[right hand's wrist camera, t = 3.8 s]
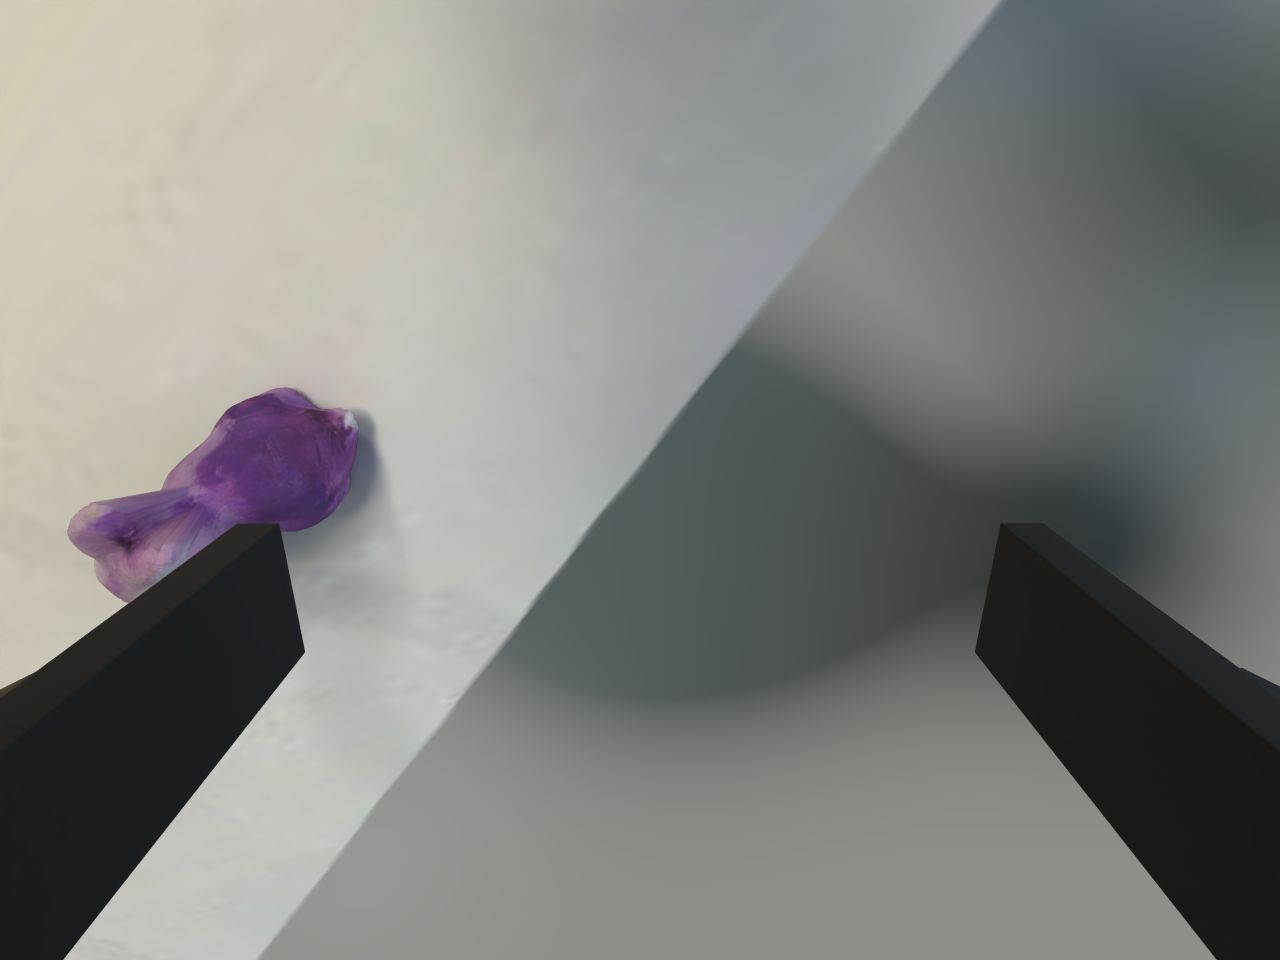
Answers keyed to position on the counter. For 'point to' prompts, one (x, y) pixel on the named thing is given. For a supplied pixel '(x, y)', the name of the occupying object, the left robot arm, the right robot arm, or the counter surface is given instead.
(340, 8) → the counter surface
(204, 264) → the counter surface
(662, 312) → the counter surface
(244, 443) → the figurine
